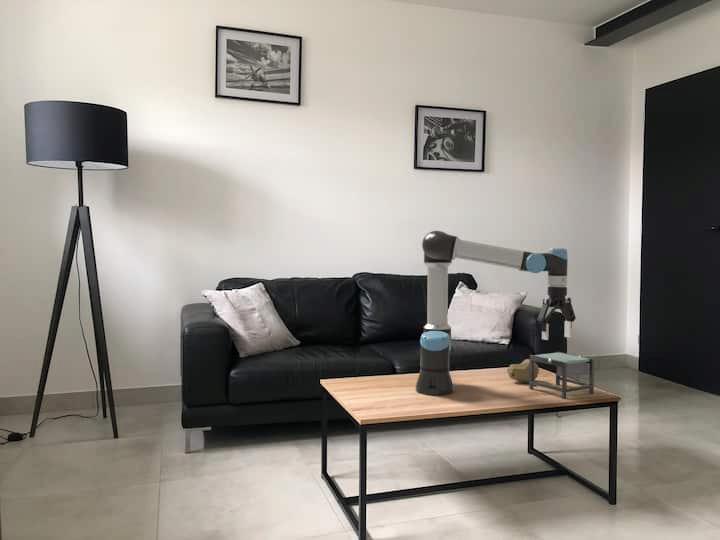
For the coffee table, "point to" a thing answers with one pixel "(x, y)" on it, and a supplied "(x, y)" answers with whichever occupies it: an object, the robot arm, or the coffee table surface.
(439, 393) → the robot arm
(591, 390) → the stand
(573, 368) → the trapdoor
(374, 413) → the coffee table surface
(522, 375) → the low-poly potato
